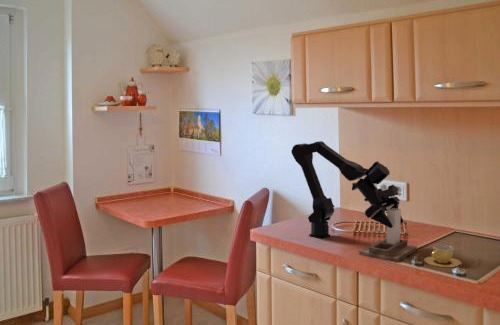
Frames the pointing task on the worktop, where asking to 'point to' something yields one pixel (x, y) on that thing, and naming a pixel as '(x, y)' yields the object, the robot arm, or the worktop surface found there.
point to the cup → (442, 256)
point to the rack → (388, 250)
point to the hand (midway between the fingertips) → (397, 224)
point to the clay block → (394, 226)
